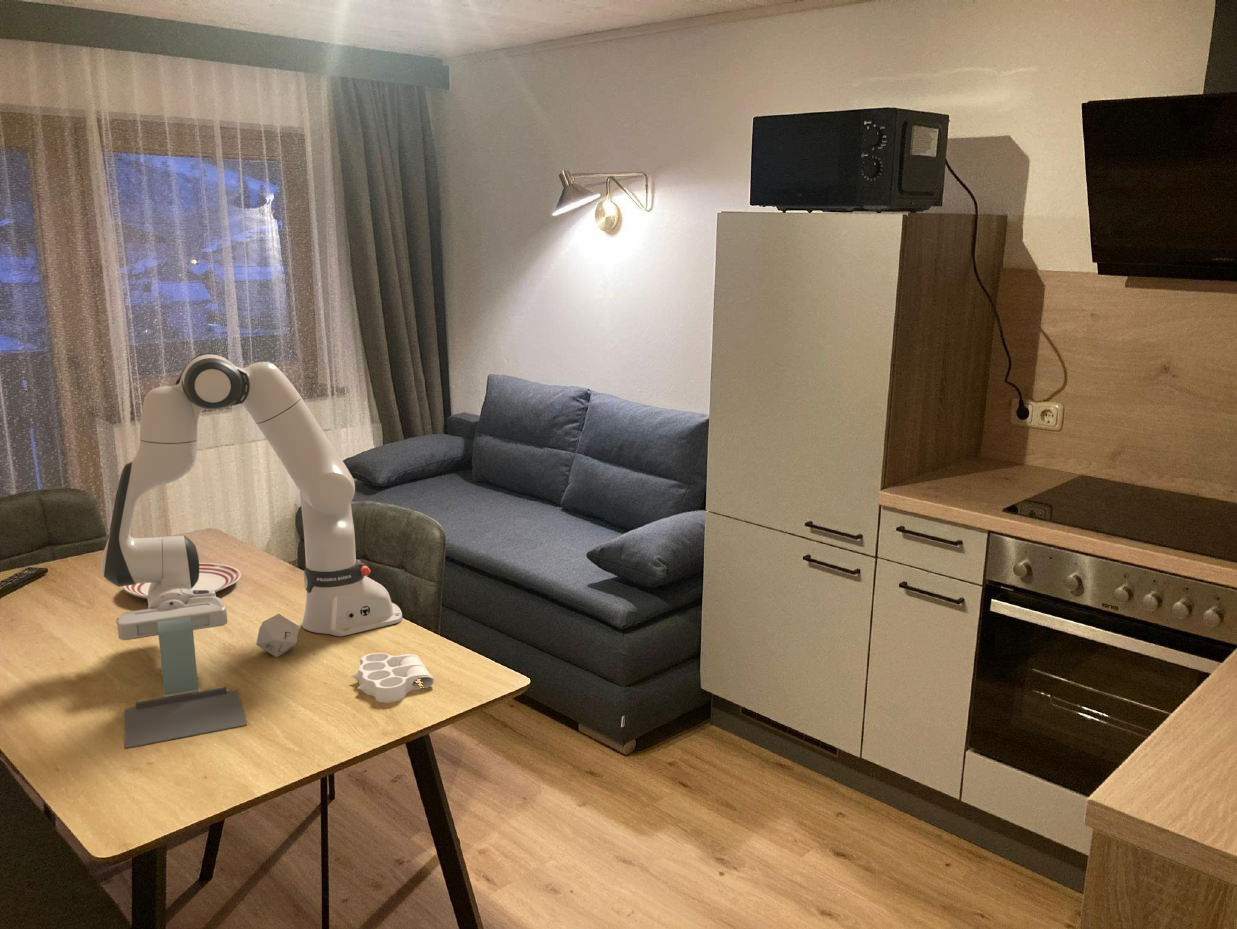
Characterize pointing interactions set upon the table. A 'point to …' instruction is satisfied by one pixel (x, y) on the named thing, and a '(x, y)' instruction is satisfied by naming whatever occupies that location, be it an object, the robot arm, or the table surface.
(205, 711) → the charcoal mat
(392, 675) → the white multi-hole holder
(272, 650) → the die
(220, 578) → the dinner plate
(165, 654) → the block
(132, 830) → the table surface
